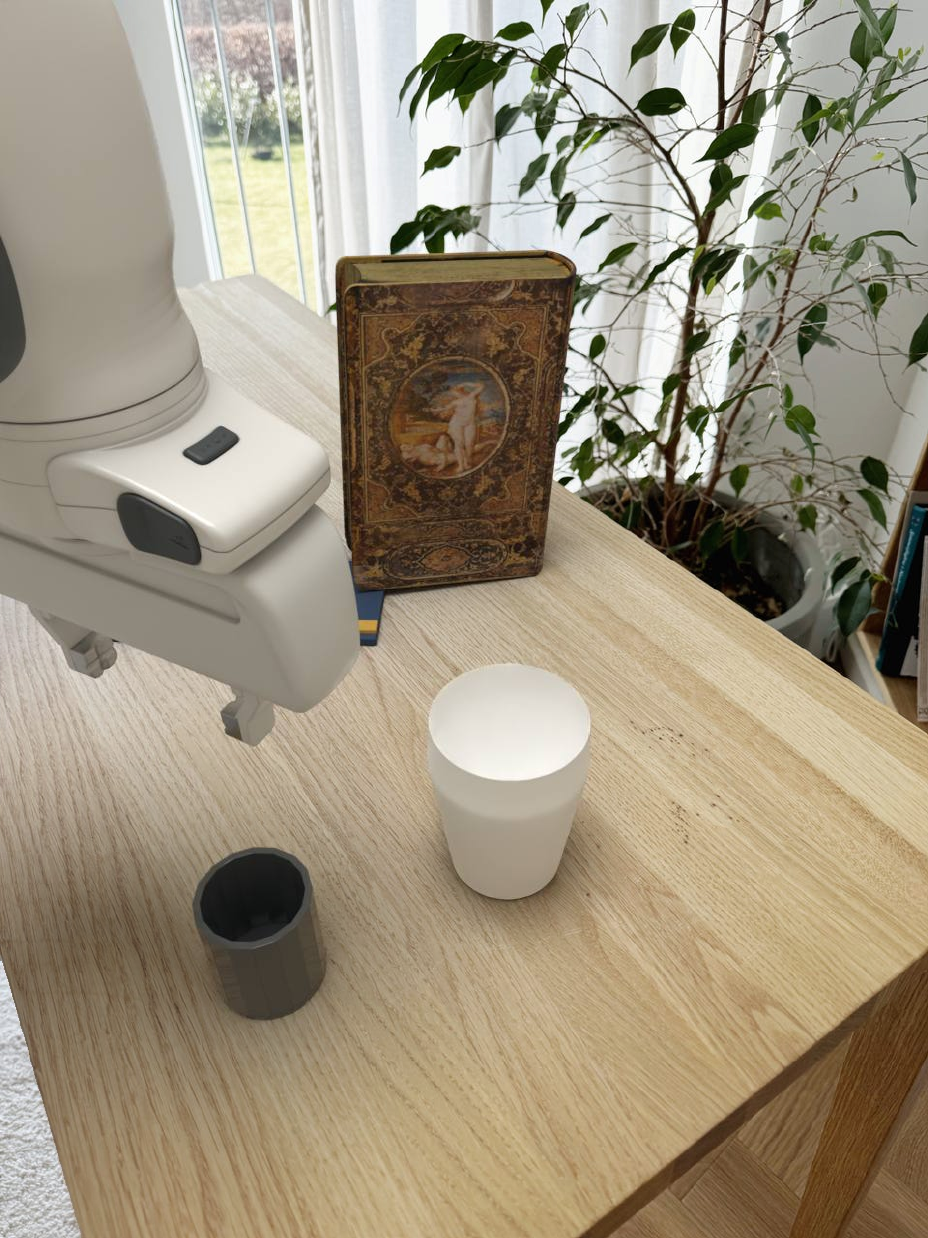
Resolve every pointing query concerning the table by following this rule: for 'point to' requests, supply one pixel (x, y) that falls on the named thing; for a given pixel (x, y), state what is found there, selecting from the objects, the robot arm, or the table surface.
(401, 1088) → the table surface
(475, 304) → the book
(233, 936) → the grey tumbler
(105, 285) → the robot arm
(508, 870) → the cup
